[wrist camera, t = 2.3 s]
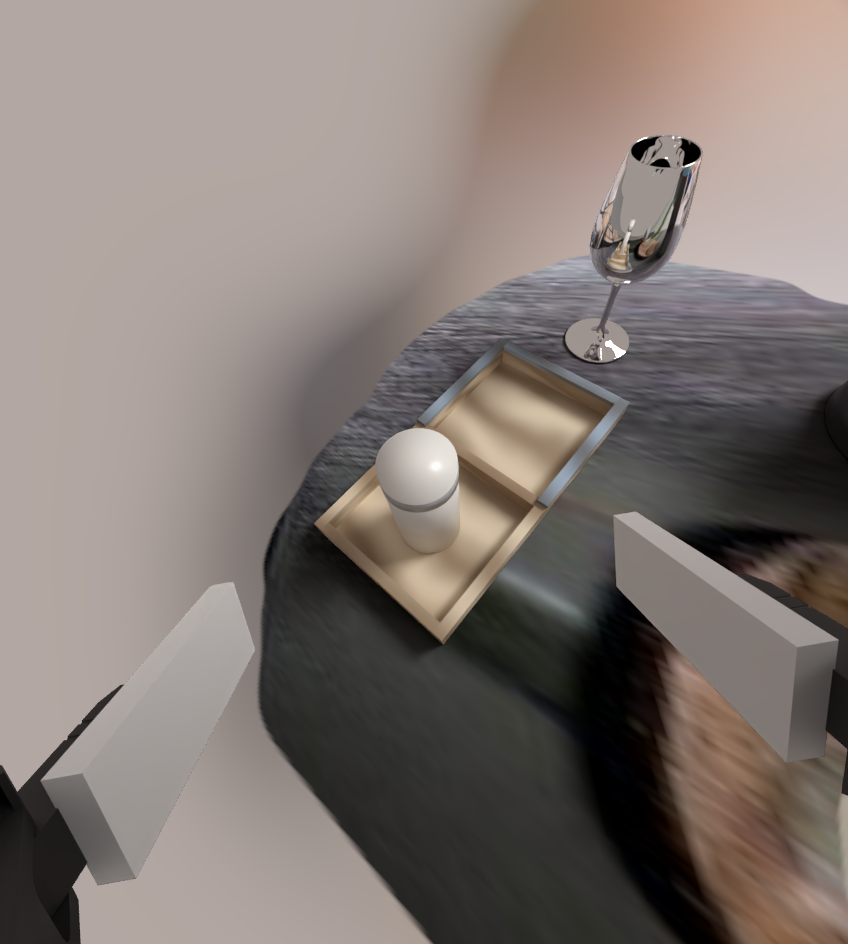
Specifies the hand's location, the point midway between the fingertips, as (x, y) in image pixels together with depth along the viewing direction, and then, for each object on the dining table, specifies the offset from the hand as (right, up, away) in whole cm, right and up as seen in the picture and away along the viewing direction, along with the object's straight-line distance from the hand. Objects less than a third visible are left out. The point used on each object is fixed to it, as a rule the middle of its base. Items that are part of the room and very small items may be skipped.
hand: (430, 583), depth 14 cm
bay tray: (+5, +4, +29) cm, 29 cm away
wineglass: (+21, +20, +36) cm, 46 cm away
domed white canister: (0, -1, +26) cm, 26 cm away
